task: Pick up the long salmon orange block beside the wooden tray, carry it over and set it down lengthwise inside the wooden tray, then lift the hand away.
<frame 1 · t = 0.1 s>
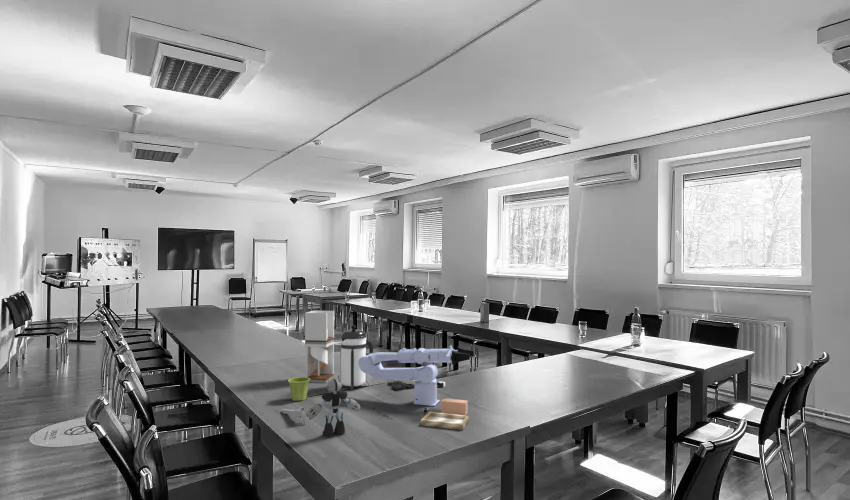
hand: (471, 355, 193), 22 cm above the table, fingers open, 7 cm apart
coffee press: (354, 386, 227), on the table
wooden tray: (445, 423, 173), on the table
plant pot: (299, 399, 204), on the table
robot: (334, 434, 163), on the table
salmon orange block: (454, 413, 186), on the table
white and brown tower: (319, 380, 239), on the table
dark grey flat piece: (415, 387, 227), on the table
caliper: (292, 419, 180), on the table
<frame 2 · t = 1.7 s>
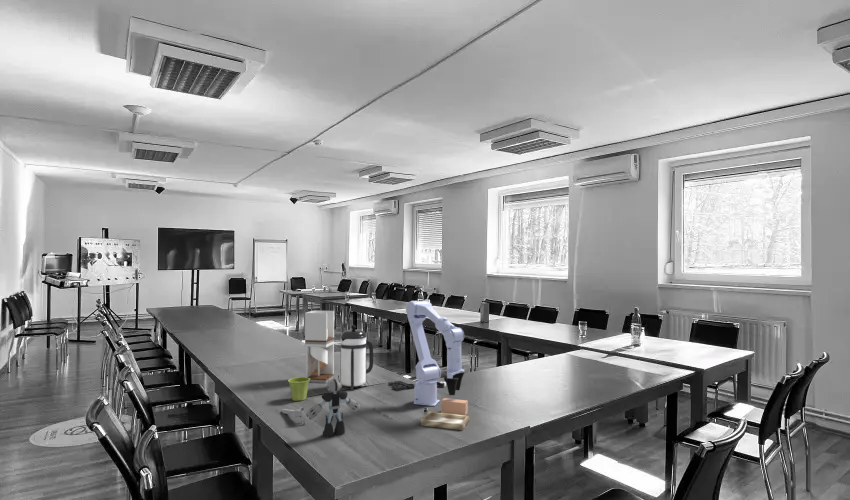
hand: (454, 392, 186), 8 cm above the table, fingers open, 7 cm apart
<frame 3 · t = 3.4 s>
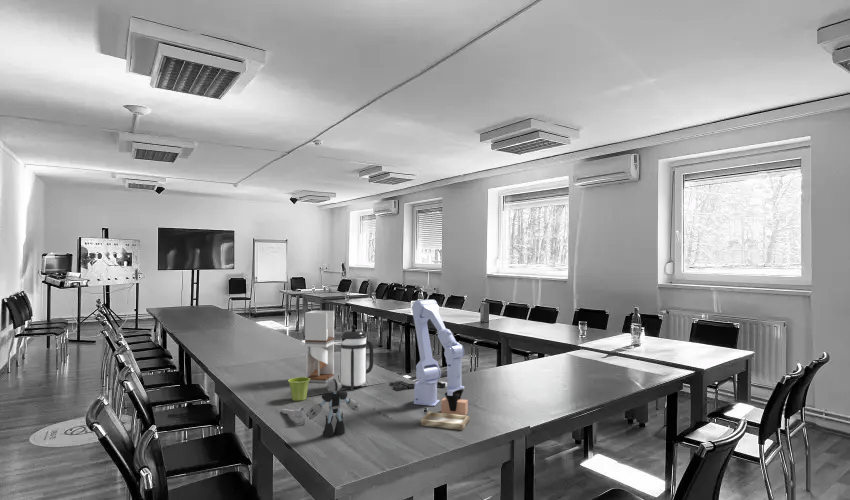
hand: (454, 409, 186), 1 cm above the table, fingers closed on salmon orange block, 4 cm apart
salmon orange block: (454, 412, 186), on the table, touching gripper
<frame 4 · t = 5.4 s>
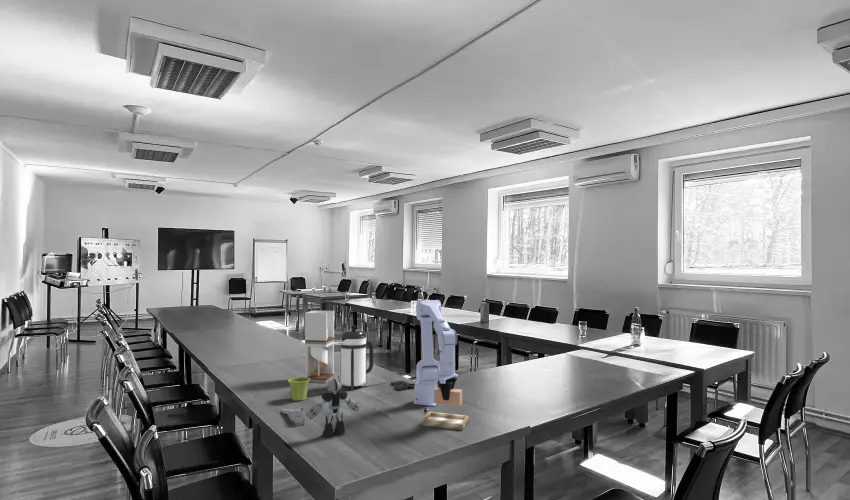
hand: (447, 398, 176), 9 cm above the table, fingers closed on salmon orange block, 4 cm apart
salmon orange block: (448, 403, 176), point 7 cm above the table, touching gripper
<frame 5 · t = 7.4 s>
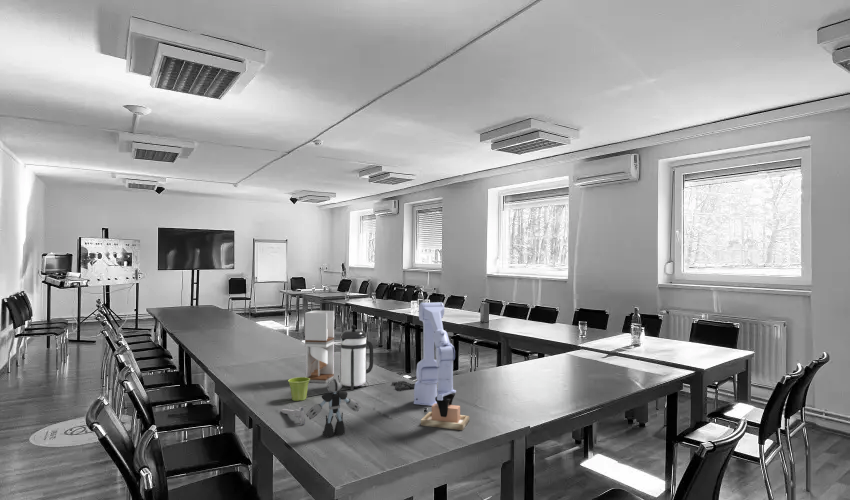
hand: (445, 414, 173), 3 cm above the table, fingers closed on salmon orange block, 4 cm apart
salmon orange block: (445, 419, 173), point 1 cm above the table, touching gripper
when the fingers open (3 cm above the table, at t = 7.4 s): salmon orange block stays where it is, resting on wooden tray.
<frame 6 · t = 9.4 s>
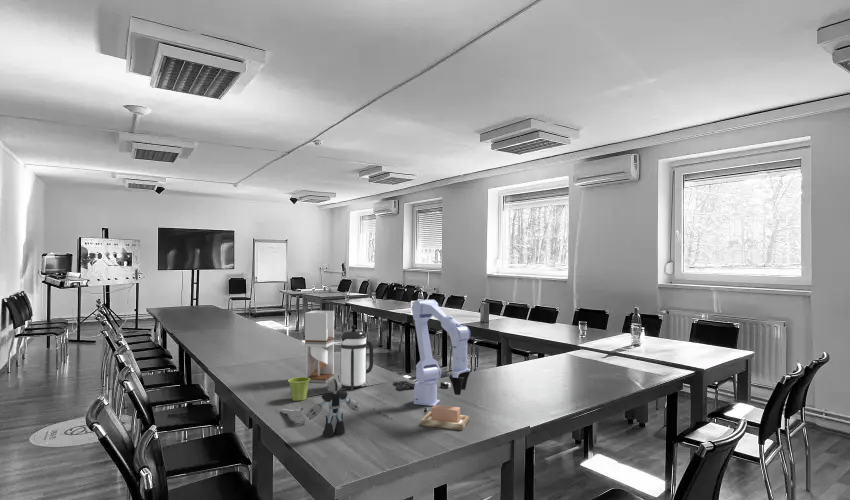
hand: (460, 392, 182), 9 cm above the table, fingers open, 7 cm apart
salmon orange block: (445, 421, 173), point 1 cm above the table, touching wooden tray
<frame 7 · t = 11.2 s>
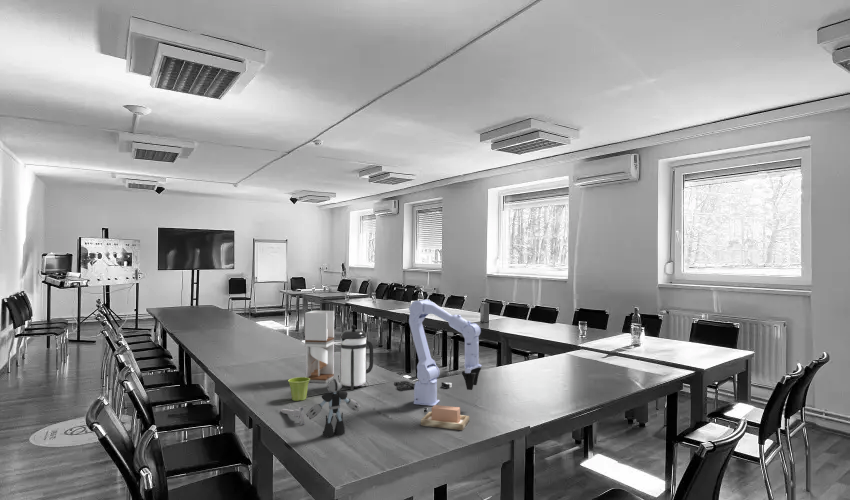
hand: (471, 387, 189), 9 cm above the table, fingers open, 7 cm apart
at the end: salmon orange block 0.2 cm off-centre on the wooden tray, point 0.8 cm above the wooden tray's base; salmon orange block tilted 0°; the gripper is holding nothing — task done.
